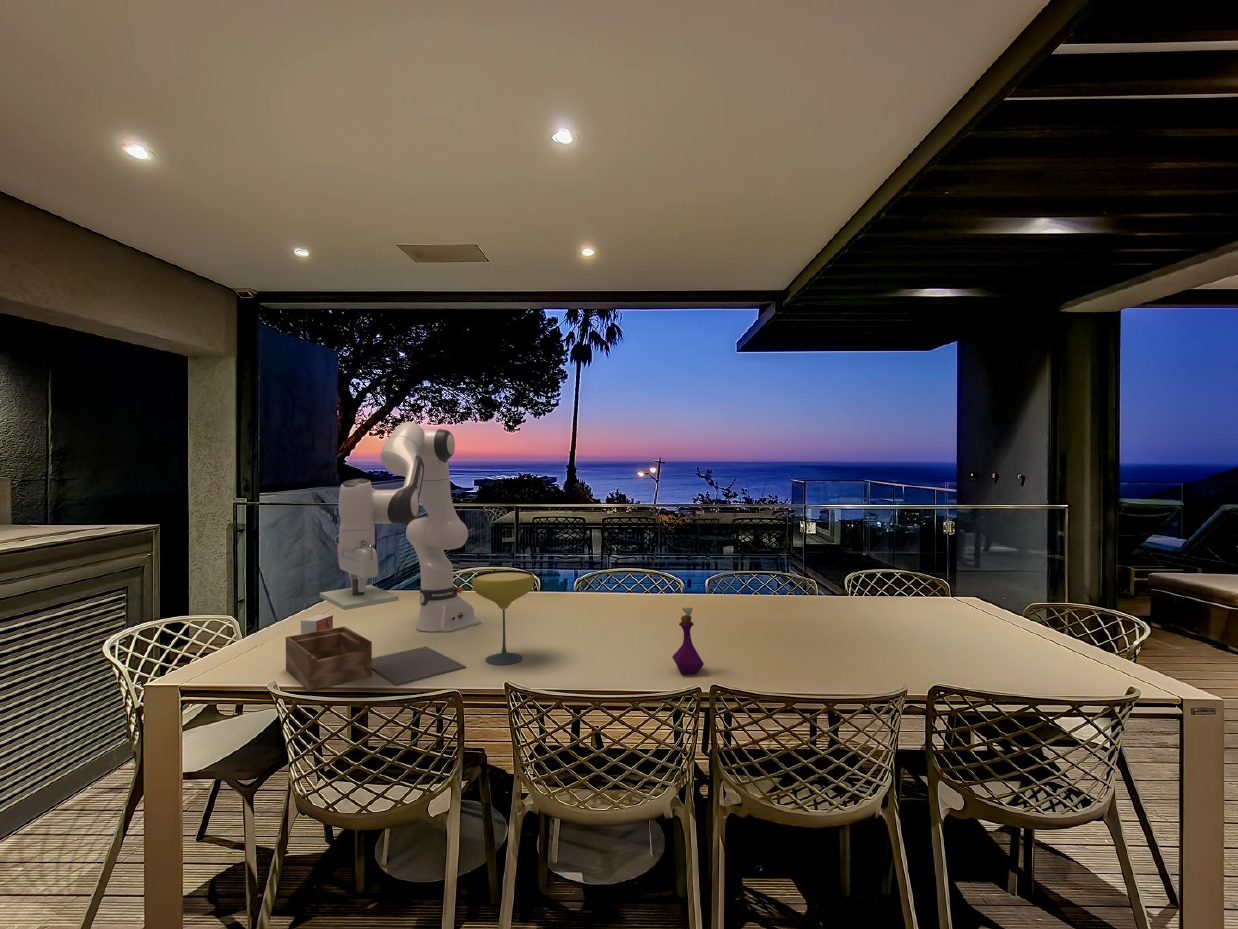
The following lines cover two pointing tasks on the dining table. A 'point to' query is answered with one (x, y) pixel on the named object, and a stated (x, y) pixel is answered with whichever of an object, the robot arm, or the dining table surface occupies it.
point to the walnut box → (328, 657)
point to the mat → (413, 665)
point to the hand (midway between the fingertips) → (358, 590)
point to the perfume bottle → (687, 649)
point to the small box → (317, 623)
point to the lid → (358, 597)
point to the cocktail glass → (503, 600)
